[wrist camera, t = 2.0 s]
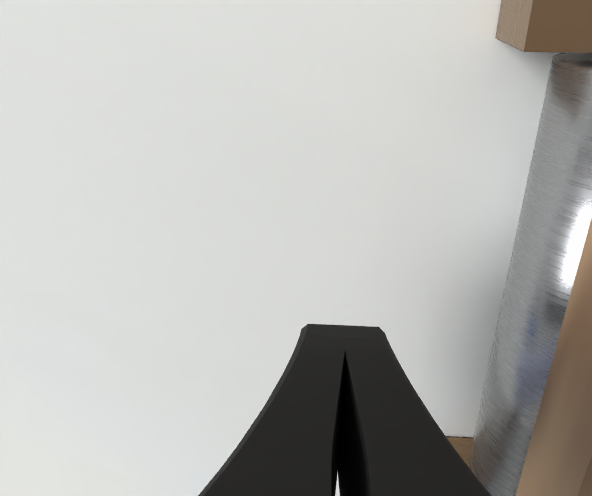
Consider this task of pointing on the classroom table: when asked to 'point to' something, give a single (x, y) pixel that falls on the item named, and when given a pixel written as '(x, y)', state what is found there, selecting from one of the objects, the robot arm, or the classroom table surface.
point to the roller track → (538, 240)
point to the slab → (566, 402)
